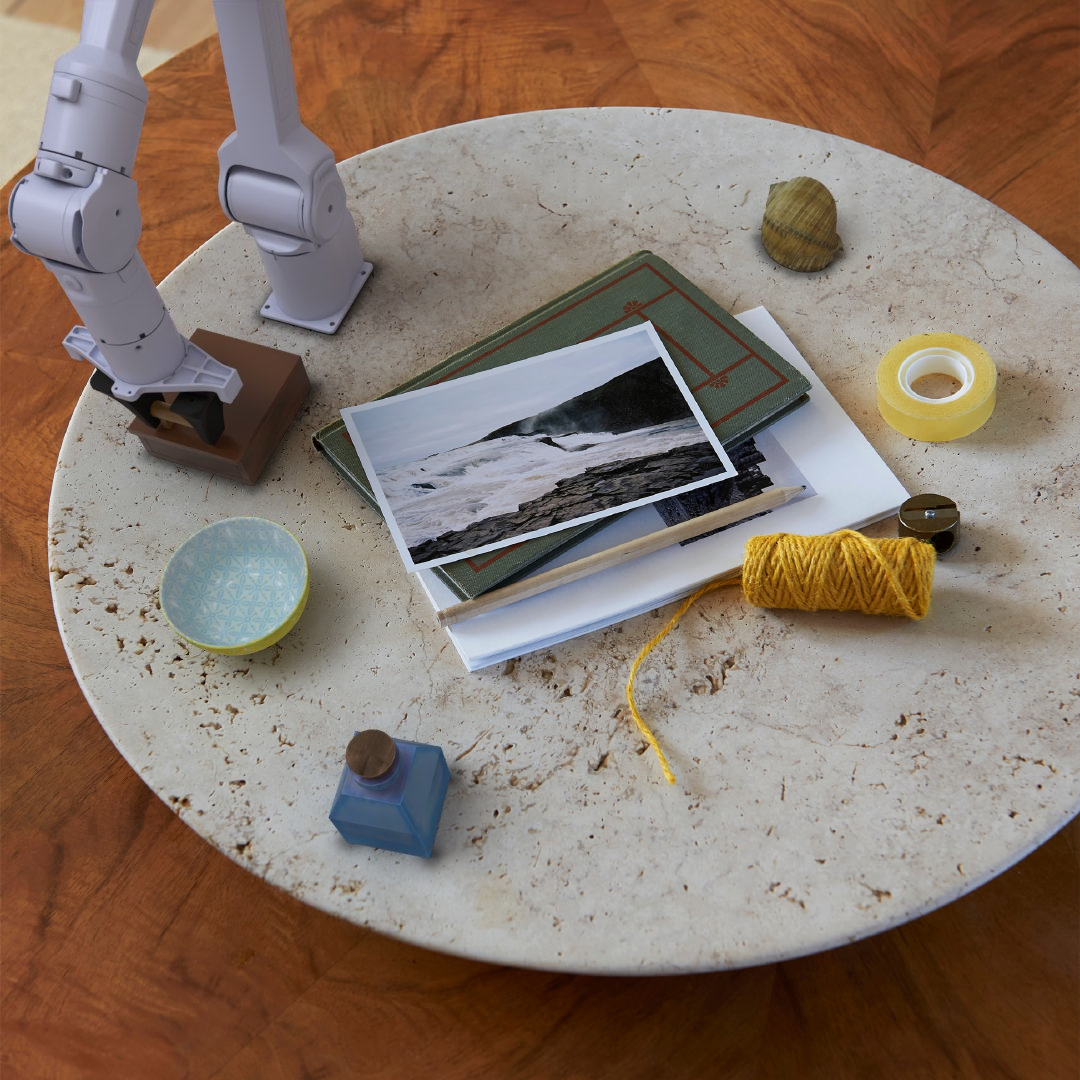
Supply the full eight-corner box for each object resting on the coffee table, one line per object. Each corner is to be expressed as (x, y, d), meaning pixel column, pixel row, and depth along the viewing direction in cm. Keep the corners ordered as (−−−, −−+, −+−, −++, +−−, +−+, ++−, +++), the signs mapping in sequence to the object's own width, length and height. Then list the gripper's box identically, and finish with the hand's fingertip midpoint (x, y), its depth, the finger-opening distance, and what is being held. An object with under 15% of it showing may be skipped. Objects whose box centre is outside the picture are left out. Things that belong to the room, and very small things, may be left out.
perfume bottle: (429, 858, 74) (404, 809, 64) (346, 842, 75) (308, 791, 65) (450, 775, 77) (430, 715, 67) (370, 759, 78) (337, 699, 68)
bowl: (201, 702, 81) (174, 670, 75) (172, 582, 86) (145, 544, 81) (342, 651, 83) (325, 615, 77) (304, 536, 88) (286, 496, 83)
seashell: (823, 286, 106) (874, 217, 102) (807, 289, 100) (861, 216, 96) (748, 230, 108) (795, 161, 104) (728, 230, 102) (778, 156, 98)
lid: (237, 465, 87) (225, 440, 84) (129, 433, 90) (113, 408, 87) (302, 359, 93) (293, 333, 90) (199, 332, 95) (186, 305, 92)
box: (253, 486, 91) (240, 461, 88) (148, 454, 93) (132, 429, 90) (312, 387, 96) (302, 360, 93) (212, 359, 99) (199, 332, 95)
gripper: (12, 331, 76) (88, 441, 88) (184, 380, 73) (239, 487, 85) (65, 265, 80) (132, 379, 91) (232, 309, 77) (279, 421, 88)
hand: (187, 427), depth 88 cm, fingers closed on lid, 5 cm apart
